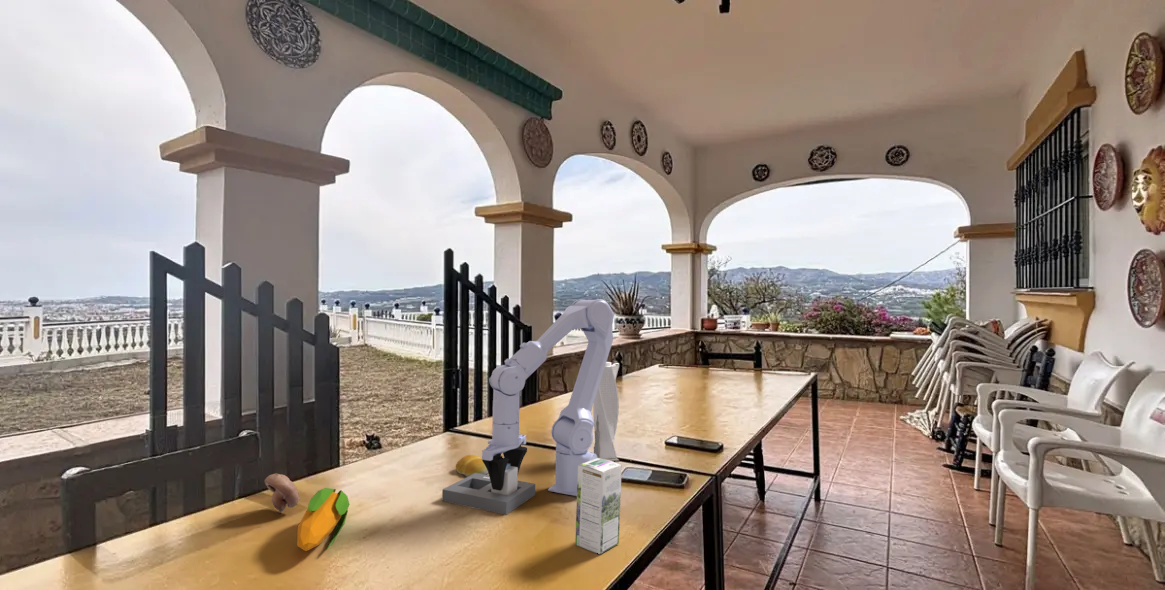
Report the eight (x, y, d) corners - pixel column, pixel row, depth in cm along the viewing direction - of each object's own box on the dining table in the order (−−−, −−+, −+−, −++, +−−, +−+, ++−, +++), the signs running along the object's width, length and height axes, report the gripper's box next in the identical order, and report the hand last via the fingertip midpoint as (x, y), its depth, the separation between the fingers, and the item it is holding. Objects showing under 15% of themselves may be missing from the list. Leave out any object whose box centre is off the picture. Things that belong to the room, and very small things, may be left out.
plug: (517, 499, 114) (517, 463, 114) (507, 506, 110) (508, 468, 110) (501, 496, 115) (502, 461, 115) (491, 502, 112) (491, 466, 112)
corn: (353, 476, 104) (331, 517, 85) (355, 514, 104) (333, 564, 85) (312, 481, 102) (280, 524, 83) (314, 520, 102) (282, 572, 83)
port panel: (535, 494, 117) (535, 483, 117) (506, 514, 106) (506, 501, 106) (475, 483, 123) (475, 472, 123) (442, 501, 112) (442, 488, 112)
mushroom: (264, 508, 106) (265, 469, 106) (298, 503, 109) (299, 465, 109) (262, 522, 100) (263, 480, 100) (298, 517, 103) (299, 476, 103)
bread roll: (473, 480, 126) (473, 463, 126) (450, 472, 131) (450, 456, 131) (499, 472, 132) (499, 456, 132) (476, 464, 138) (476, 449, 138)
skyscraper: (585, 454, 148) (587, 355, 148) (612, 452, 151) (613, 355, 151) (594, 463, 140) (596, 358, 140) (623, 461, 143) (624, 358, 143)
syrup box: (594, 534, 97) (596, 456, 98) (620, 544, 94) (622, 463, 94) (574, 545, 93) (576, 463, 93) (601, 556, 89) (602, 470, 89)
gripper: (507, 413, 121) (506, 472, 121) (470, 426, 108) (469, 492, 108) (534, 416, 118) (533, 477, 118) (499, 430, 105) (498, 498, 105)
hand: (504, 485), depth 113 cm, fingers open, 5 cm apart
